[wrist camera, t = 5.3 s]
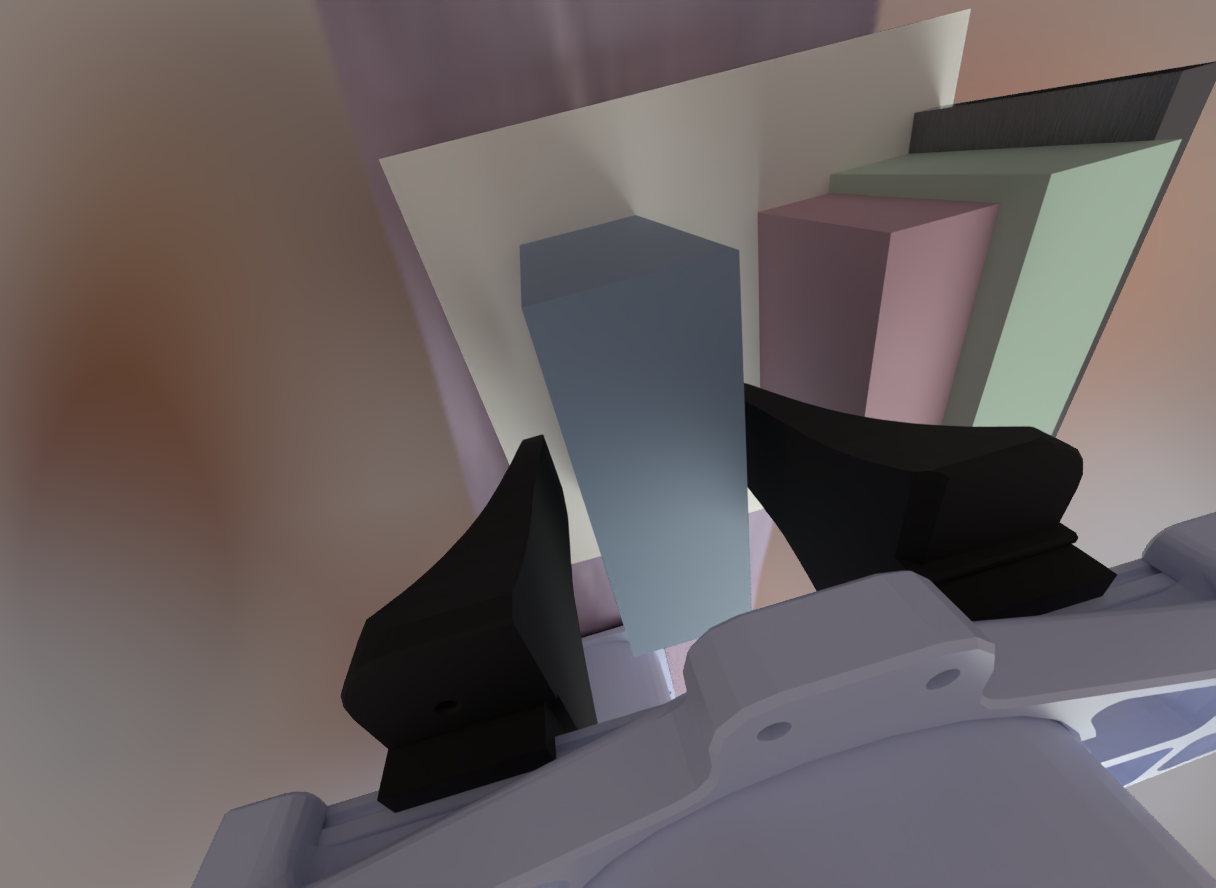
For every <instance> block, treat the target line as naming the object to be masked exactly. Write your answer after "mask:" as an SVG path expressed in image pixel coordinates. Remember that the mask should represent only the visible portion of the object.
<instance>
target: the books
mask: <svg viewBox="0 0 1216 888" xmlns="http://www.w3.org/2000/svg"><path fill="white" fill-rule="evenodd" d="M1181 140H1182V139H1171V140H1153V141H1134V142H1116V143H1097V144H1079V145H1060V146H1042V147H1024V148H1005V149H987V150H968V151H950V152H931V153H913V154H905V155H902V156H898V157H894V158H890V159H887V160H883V161H879V162H875V163H871V164H868V165H864V166H860V167H856V168H853V169H849V170H845V171H841V172H837V173H834V174H830V184H829V193H828V194H824V195H820V196H817V197H813V198H809V199H805V200H802V201H798V202H794V203H790V204H787V205H783V206H779V207H775V208H772V209H768V210H764V211H760V212H758V274H759V341H760V388H762V389H765V390H768V391H771V392H774V393H776V394H779V395H782V396H785V397H788V398H792V399H795V400H798V401H801V402H804V403H808V404H811V405H815V406H819V407H822V408H826V409H830V410H834V411H838V412H843V413H848V414H853V415H858V416H864V417H869V418H875V419H882V420H890V421H898V422H907V423H916V424H929V425H946V426H969V427H998V426H1031V427H1035V428H1037V429H1039V430H1041V431H1043V432H1045V433H1047V434H1049V435H1052V433H1053V430H1054V428H1055V426H1056V423H1057V421H1058V419H1059V417H1060V414H1061V412H1062V410H1063V408H1064V405H1065V403H1066V401H1067V399H1068V396H1069V394H1070V392H1071V389H1072V387H1073V385H1074V383H1075V380H1076V378H1077V376H1078V374H1079V371H1080V369H1081V367H1082V365H1083V362H1084V360H1085V358H1086V356H1087V353H1088V351H1089V349H1090V346H1091V344H1092V342H1093V340H1094V337H1095V335H1096V333H1097V331H1098V328H1099V326H1100V324H1101V322H1102V319H1103V317H1104V315H1105V312H1106V310H1107V308H1108V306H1109V303H1110V301H1111V299H1112V297H1113V294H1114V292H1115V290H1116V288H1117V285H1118V283H1119V281H1120V278H1121V276H1122V274H1123V272H1124V269H1125V267H1126V265H1127V263H1128V260H1129V258H1130V256H1131V254H1132V251H1133V249H1134V247H1135V244H1136V242H1137V240H1138V238H1139V235H1140V233H1141V231H1142V229H1143V226H1144V224H1145V222H1146V220H1147V217H1148V215H1149V213H1150V210H1151V208H1152V206H1153V204H1154V201H1155V199H1156V197H1157V195H1158V192H1159V190H1160V188H1161V186H1162V183H1163V181H1164V179H1165V176H1166V174H1167V172H1168V170H1169V167H1170V165H1171V163H1172V161H1173V158H1174V156H1175V154H1176V152H1177V149H1178V147H1179V145H1180V142H1181Z"/></svg>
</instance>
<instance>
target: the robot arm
mask: <svg viewBox="0 0 1216 888" xmlns="http://www.w3.org/2000/svg"><path fill="white" fill-rule="evenodd" d="M744 402H745V431H746V460H747V487H748V489H749V490H750V491H751V492H752V494H753V495H754V496H755V498H756V499H757V500H758V501H759V503H760V504H761V505H762V507H763V508H764V509H765V510H766V512H767V513H768V514H769V516H770V517H771V518H772V519H773V521H774V522H775V523H776V525H777V526H778V528H779V529H780V530H781V532H782V533H783V535H784V536H785V538H786V540H787V541H788V543H789V545H790V546H791V548H792V550H793V551H794V553H795V555H796V556H797V558H798V559H799V561H800V562H801V565H802V566H803V568H804V570H805V571H806V573H807V575H808V577H809V578H810V580H811V582H812V583H813V585H814V587H815V589H816V592H813V593H810V594H806V595H803V596H800V597H796V598H793V599H790V600H786V601H783V602H780V603H776V604H773V605H770V606H766V607H763V608H760V609H756V610H753V611H750V612H746V613H743V614H740V615H737V616H735V617H733V618H730V619H728V620H726V621H724V622H722V623H720V624H718V625H716V626H713V627H711V628H709V629H708V630H707V631H706V632H705V633H704V634H703V635H702V636H701V637H700V638H699V639H698V640H697V641H696V642H695V643H694V644H693V645H692V646H691V647H690V649H689V651H688V652H687V657H686V661H685V665H684V669H683V675H684V680H685V684H686V689H687V692H686V693H684V694H682V695H680V696H678V697H676V696H675V692H674V688H673V684H672V680H671V676H670V672H669V668H668V664H667V660H666V656H665V652H664V648H663V649H660V650H657V651H653V652H650V653H647V654H643V655H640V656H637V657H634V656H633V653H632V650H631V647H630V644H629V641H628V638H627V634H626V631H625V628H624V626H620V627H617V628H614V629H610V630H607V631H603V632H600V633H597V634H593V635H590V636H587V637H583V638H581V633H580V628H579V622H578V616H577V610H576V604H575V599H574V591H573V582H572V567H571V551H570V536H569V522H568V513H567V508H566V503H565V498H564V493H563V488H562V485H561V483H560V480H559V477H558V474H557V471H556V469H555V466H554V463H553V460H552V457H551V455H550V452H549V449H548V446H547V443H546V440H545V438H544V435H543V434H542V435H538V436H535V437H531V438H527V439H524V440H522V442H521V443H520V445H519V447H518V449H517V451H516V454H515V456H514V458H513V460H512V462H511V464H510V466H509V468H508V470H507V471H506V473H505V475H504V477H503V479H502V481H501V482H500V484H499V486H498V488H497V489H496V491H495V493H494V494H493V496H492V497H491V499H490V501H489V502H488V504H487V505H486V507H485V508H484V510H483V511H482V512H481V514H480V515H479V516H478V518H477V519H476V520H475V521H474V523H473V524H472V525H471V526H470V528H469V529H468V530H467V531H466V533H465V534H464V535H463V536H462V537H461V538H460V539H459V540H458V541H457V542H456V543H455V544H454V545H453V546H452V548H451V549H450V550H449V551H448V552H447V553H446V554H445V555H444V556H443V557H442V558H441V559H440V560H439V561H438V562H437V563H436V564H435V565H434V566H433V567H432V568H431V569H429V570H428V571H427V572H426V573H425V574H424V575H423V576H422V577H420V578H419V579H418V580H417V581H416V582H415V583H414V584H412V585H411V586H410V587H409V588H407V589H406V590H405V591H404V592H403V593H401V594H400V595H399V596H397V597H396V598H395V599H393V600H392V601H391V602H389V603H388V604H387V605H386V606H384V607H383V608H382V609H381V610H379V611H378V612H376V613H375V614H374V615H372V616H371V617H369V618H368V619H367V620H366V622H365V625H364V627H363V629H362V632H361V635H360V637H359V640H358V642H357V646H356V649H355V652H354V655H353V658H352V661H351V664H350V667H349V670H348V673H347V676H346V679H345V682H344V685H343V689H342V693H341V699H342V703H343V707H344V708H345V709H346V711H347V712H348V713H349V714H350V716H351V717H352V718H353V719H354V720H355V721H356V722H357V723H358V724H360V725H361V726H362V727H363V728H365V730H367V731H368V732H369V733H370V734H371V735H372V736H374V737H375V738H376V739H377V740H378V741H380V742H381V743H382V744H383V745H384V746H385V747H387V748H388V753H387V758H386V762H385V767H384V771H383V775H382V780H381V785H380V789H379V791H375V792H372V793H369V794H366V795H362V796H359V797H356V798H352V799H349V800H346V801H343V802H339V803H336V804H333V805H329V806H327V805H326V804H325V802H323V801H322V800H321V799H320V798H319V797H317V796H316V795H314V794H311V793H308V792H290V793H285V794H281V795H278V796H275V797H271V798H268V799H265V800H261V801H258V802H255V803H251V804H248V805H245V806H241V807H238V808H235V809H232V810H230V811H229V812H227V813H226V814H224V816H223V819H222V821H221V823H220V825H219V827H218V830H217V832H216V834H215V836H214V839H213V841H212V843H211V845H210V847H209V849H208V851H207V854H206V856H205V858H204V860H203V862H202V864H201V867H200V869H199V871H198V873H197V875H196V878H195V880H194V882H193V884H192V886H191V888H1216V880H1215V879H1214V878H1213V877H1212V876H1211V875H1210V874H1209V873H1208V872H1207V871H1206V870H1205V869H1204V868H1203V867H1202V866H1201V865H1200V864H1199V863H1198V861H1197V860H1196V859H1195V858H1194V857H1193V856H1191V854H1189V852H1187V850H1186V849H1185V848H1184V847H1183V846H1182V845H1181V844H1180V843H1179V842H1178V841H1177V840H1176V839H1175V838H1174V837H1173V836H1172V835H1171V834H1170V833H1169V832H1168V831H1167V830H1166V829H1165V828H1164V827H1163V826H1162V825H1161V824H1160V823H1159V822H1158V821H1157V820H1156V819H1155V818H1154V817H1153V816H1152V815H1151V814H1150V813H1149V812H1148V811H1147V810H1146V809H1145V808H1144V807H1143V806H1142V805H1141V804H1140V803H1139V802H1138V801H1137V800H1136V799H1135V798H1134V797H1133V796H1132V795H1131V794H1130V793H1129V792H1128V791H1127V790H1126V789H1125V787H1128V786H1130V785H1133V784H1135V783H1138V782H1140V781H1143V780H1145V779H1148V778H1150V777H1153V776H1156V775H1158V774H1161V773H1163V772H1166V771H1168V770H1171V769H1173V768H1176V767H1178V766H1181V765H1183V764H1186V763H1188V762H1191V761H1193V760H1196V759H1199V758H1201V757H1204V756H1206V755H1209V754H1212V753H1214V752H1216V512H1214V513H1210V514H1207V515H1204V516H1201V517H1197V518H1194V519H1191V520H1187V521H1184V522H1181V523H1177V524H1175V525H1172V526H1170V527H1167V528H1165V529H1164V530H1162V531H1161V532H1160V533H1158V534H1157V535H1156V536H1155V537H1154V538H1153V539H1152V540H1151V541H1150V542H1149V543H1148V545H1147V546H1146V548H1145V550H1144V551H1143V553H1142V558H1141V559H1138V560H1134V561H1131V562H1128V563H1124V564H1121V565H1118V566H1115V567H1111V568H1107V567H1106V566H1104V565H1103V564H1101V563H1100V562H1098V561H1097V560H1095V559H1094V558H1092V557H1091V556H1089V555H1087V554H1086V553H1084V552H1083V551H1082V550H1080V549H1079V548H1077V547H1075V546H1074V545H1072V543H1075V542H1076V541H1077V539H1078V536H1077V534H1076V533H1075V532H1074V531H1072V530H1071V529H1069V528H1068V527H1066V526H1064V525H1063V524H1061V523H1060V520H1061V518H1062V516H1063V514H1064V513H1065V511H1066V509H1067V507H1068V505H1069V503H1070V501H1071V499H1072V497H1073V495H1074V494H1075V492H1076V490H1077V488H1078V485H1079V483H1080V480H1081V478H1082V475H1083V459H1082V457H1081V455H1080V453H1079V451H1078V449H1076V448H1074V447H1072V446H1070V445H1069V444H1067V443H1065V442H1063V441H1061V440H1059V439H1057V438H1055V437H1053V436H1051V435H1049V434H1047V433H1045V432H1043V431H1041V430H1039V429H1037V428H1035V427H1031V426H998V427H969V426H946V425H929V424H916V423H907V422H898V421H890V420H882V419H875V418H869V417H864V416H858V415H853V414H848V413H843V412H838V411H834V410H830V409H826V408H822V407H819V406H815V405H811V404H808V403H804V402H801V401H798V400H795V399H792V398H788V397H785V396H782V395H779V394H776V393H774V392H771V391H768V390H765V389H762V388H759V387H756V386H753V385H750V384H747V383H744Z"/></svg>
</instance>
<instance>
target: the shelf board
mask: <svg viewBox="0 0 1216 888" xmlns="http://www.w3.org/2000/svg"><path fill="white" fill-rule="evenodd" d="M970 11H971V9H968V10H964V11H959V12H955V13H951V14H948V15H944V16H940V17H936V18H932V19H928V20H924V21H920V22H916V23H912V24H908V25H904V26H901V27H896V28H892V29H888V30H885V31H881V32H877V33H873V34H869V35H865V36H861V37H857V38H853V39H849V40H845V41H841V42H837V43H833V44H830V45H826V46H822V47H818V48H814V49H810V50H806V51H802V52H798V53H794V54H790V55H786V56H782V57H778V58H774V59H771V60H767V61H763V62H759V63H755V64H751V65H747V66H743V67H739V68H735V69H731V70H727V71H723V72H719V73H715V74H712V75H708V76H704V77H700V78H696V79H692V80H688V81H684V82H680V83H676V84H672V85H668V86H664V87H660V88H657V89H653V90H649V91H645V92H641V93H637V94H633V95H629V96H625V97H621V98H617V99H613V100H609V101H605V102H601V103H598V104H594V105H590V106H586V107H582V108H578V109H574V110H570V111H566V112H562V113H558V114H554V115H550V116H546V117H542V118H539V119H535V120H531V121H527V122H523V123H519V124H515V125H511V126H507V127H503V128H499V129H495V130H491V131H487V132H484V133H480V134H476V135H472V136H468V137H464V138H460V139H456V140H452V141H448V142H444V143H440V144H436V145H432V146H428V147H425V148H421V149H417V150H413V151H409V152H405V153H401V154H397V155H393V156H389V157H385V158H381V159H379V162H380V164H381V166H382V169H383V171H384V173H385V176H386V178H387V180H388V183H389V185H390V187H391V190H392V192H393V194H394V197H395V199H396V201H397V204H398V206H399V208H400V211H401V213H402V215H403V218H404V220H405V222H406V225H407V227H408V229H409V232H410V234H411V236H412V239H413V241H414V243H415V246H416V248H417V250H418V253H419V255H420V257H421V260H422V262H423V264H424V267H425V269H426V271H427V274H428V276H429V278H430V281H431V283H432V285H433V288H434V290H435V292H436V295H437V297H438V299H439V302H440V304H441V306H442V309H443V311H444V313H445V316H446V318H447V320H448V322H449V325H450V327H451V329H452V332H453V334H454V336H455V339H456V341H457V343H458V346H459V348H460V350H461V353H462V355H463V357H464V360H465V362H466V364H467V367H468V369H469V371H470V374H471V376H472V378H473V381H474V383H475V385H476V388H477V390H478V392H479V395H480V397H481V399H482V402H483V404H484V406H485V409H486V411H487V413H488V416H489V418H490V420H491V423H492V425H493V427H494V430H495V432H496V434H497V437H498V439H499V441H500V444H501V446H502V448H503V451H504V453H505V455H506V458H507V460H508V462H509V465H510V464H511V462H512V460H513V458H514V456H515V454H516V451H517V449H518V447H519V445H520V443H521V442H522V440H524V439H527V438H531V437H535V436H538V435H542V434H543V435H544V438H545V440H546V443H547V446H548V449H549V452H550V455H551V457H552V460H553V463H554V466H555V469H556V471H557V474H558V477H559V480H560V483H561V485H562V488H563V493H564V498H565V503H566V508H567V513H568V522H569V536H570V551H571V565H572V564H575V563H578V562H582V561H585V560H589V559H592V558H596V557H599V556H601V554H600V550H599V547H598V544H597V541H596V538H595V535H594V532H593V529H592V526H591V523H590V519H589V516H588V513H587V510H586V507H585V504H584V501H583V498H582V495H581V491H580V488H579V485H578V482H577V479H576V476H575V473H574V470H573V467H572V463H571V460H570V457H569V454H568V451H567V448H566V445H565V442H564V439H563V435H562V432H561V429H560V426H559V423H558V420H557V417H556V414H555V411H554V407H553V404H552V401H551V398H550V395H549V392H548V389H547V386H546V383H545V379H544V376H543V373H542V370H541V367H540V364H539V361H538V358H537V355H536V352H535V348H534V345H533V342H532V339H531V336H530V333H529V330H528V327H527V324H526V320H525V317H524V314H523V311H522V308H521V278H520V246H519V245H522V244H526V243H530V242H534V241H538V240H542V239H545V238H549V237H553V236H557V235H561V234H565V233H569V232H572V231H576V230H580V229H584V228H588V227H592V226H595V225H599V224H603V223H607V222H611V221H615V220H619V219H622V218H626V217H630V216H634V215H637V216H640V217H643V218H646V219H649V220H652V221H655V222H658V223H661V224H664V225H667V226H670V227H673V228H676V229H678V230H681V231H684V232H687V233H690V234H693V235H696V236H699V237H702V238H705V239H708V240H711V241H714V242H717V243H720V244H723V245H726V246H729V247H732V248H735V249H738V250H739V256H740V286H741V315H742V344H743V373H744V383H747V384H750V385H753V386H756V387H759V388H760V341H759V274H758V212H760V211H764V210H768V209H772V208H775V207H779V206H783V205H787V204H790V203H794V202H798V201H802V200H805V199H809V198H813V197H817V196H820V195H824V194H828V193H829V184H830V174H834V173H837V172H841V171H845V170H849V169H853V168H856V167H860V166H864V165H868V164H871V163H875V162H879V161H883V160H887V159H890V158H894V157H898V156H902V155H905V154H908V152H909V145H910V139H911V132H912V125H913V119H914V113H916V112H920V111H924V110H927V109H931V108H935V107H939V106H944V105H950V104H953V101H954V96H955V90H956V85H957V80H958V74H959V69H960V64H961V58H962V53H963V48H964V43H965V37H966V32H967V27H968V21H969V16H970ZM747 489H748V487H747ZM761 509H764V508H763V507H762V505H761V504H760V503H759V501H758V500H757V499H756V498H755V496H754V495H753V494H752V492H751V491H750V490H749V489H748V513H750V512H754V511H757V510H761Z"/></svg>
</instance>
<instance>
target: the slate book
mask: <svg viewBox="0 0 1216 888" xmlns="http://www.w3.org/2000/svg"><path fill="white" fill-rule="evenodd" d="M519 246H520V278H521V308H522V311H523V314H524V317H525V320H526V324H527V327H528V330H529V333H530V336H531V339H532V342H533V345H534V348H535V352H536V355H537V358H538V361H539V364H540V367H541V370H542V373H543V376H544V379H545V383H546V386H547V389H548V392H549V395H550V398H551V401H552V404H553V407H554V411H555V414H556V417H557V420H558V423H559V426H560V429H561V432H562V435H563V439H564V442H565V445H566V448H567V451H568V454H569V457H570V460H571V463H572V467H573V470H574V473H575V476H576V479H577V482H578V485H579V488H580V491H581V495H582V498H583V501H584V504H585V507H586V510H587V513H588V516H589V519H590V523H591V526H592V529H593V532H594V535H595V538H596V541H597V544H598V547H599V550H600V554H601V557H602V560H603V563H604V566H605V569H606V572H607V575H608V578H609V582H610V585H611V588H612V591H613V594H614V597H615V600H616V603H617V606H618V610H619V613H620V616H621V619H622V622H623V625H624V628H625V631H626V634H627V638H628V641H629V644H630V647H631V650H632V653H633V656H634V657H637V656H640V655H643V654H647V653H650V652H653V651H657V650H660V649H663V648H667V647H670V646H674V645H677V644H680V643H684V642H687V641H690V640H694V639H697V638H700V637H701V636H702V635H703V634H704V633H705V632H706V631H707V630H708V629H709V628H711V627H713V626H716V625H718V624H720V623H722V622H724V621H726V620H728V619H730V618H733V617H735V616H737V615H740V614H743V613H746V612H750V611H752V606H751V577H750V547H749V518H748V489H747V460H746V431H745V402H744V373H743V344H742V315H741V286H740V256H739V250H738V249H735V248H732V247H729V246H726V245H723V244H720V243H717V242H714V241H711V240H708V239H705V238H702V237H699V236H696V235H693V234H690V233H687V232H684V231H681V230H678V229H676V228H673V227H670V226H667V225H664V224H661V223H658V222H655V221H652V220H649V219H646V218H643V217H640V216H637V215H634V216H630V217H626V218H622V219H619V220H615V221H611V222H607V223H603V224H599V225H595V226H592V227H588V228H584V229H580V230H576V231H572V232H569V233H565V234H561V235H557V236H553V237H549V238H545V239H542V240H538V241H534V242H530V243H526V244H522V245H519Z"/></svg>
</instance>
